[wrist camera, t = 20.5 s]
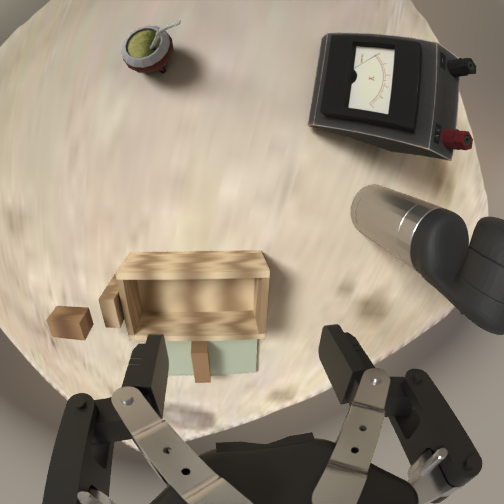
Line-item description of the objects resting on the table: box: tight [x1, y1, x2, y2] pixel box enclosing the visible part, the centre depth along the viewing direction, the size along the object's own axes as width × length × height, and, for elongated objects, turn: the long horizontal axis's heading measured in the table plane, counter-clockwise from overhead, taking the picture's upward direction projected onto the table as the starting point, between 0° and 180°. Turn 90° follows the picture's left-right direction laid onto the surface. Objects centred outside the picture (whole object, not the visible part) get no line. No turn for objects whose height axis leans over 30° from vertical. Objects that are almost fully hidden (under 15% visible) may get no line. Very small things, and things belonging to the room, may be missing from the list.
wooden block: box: [46, 306, 94, 340], centre depth 34 cm, size 6×3×4 cm, turn 88°
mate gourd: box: [122, 21, 180, 74], centre depth 26 cm, size 8×8×15 cm
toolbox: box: [99, 251, 270, 341], centre depth 43 cm, size 25×12×10 cm, turn 88°
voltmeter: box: [308, 33, 476, 161], centre depth 30 cm, size 16×16×20 cm
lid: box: [144, 339, 257, 383], centre depth 51 cm, size 22×12×6 cm, turn 89°
